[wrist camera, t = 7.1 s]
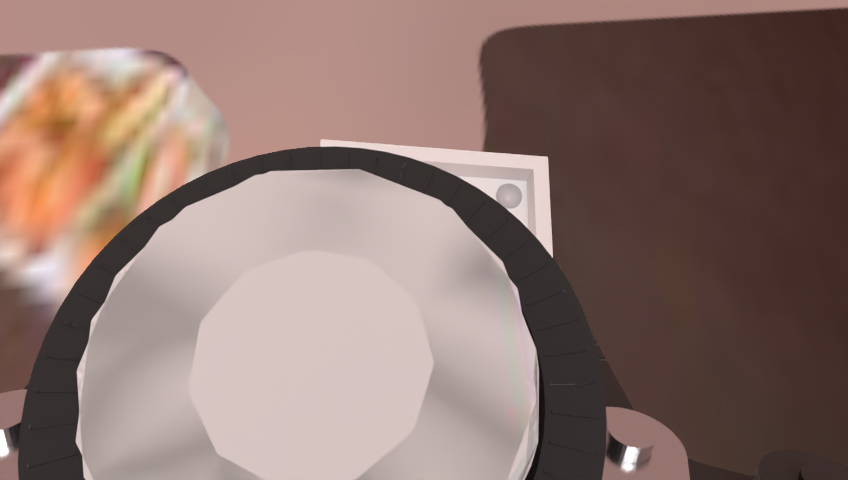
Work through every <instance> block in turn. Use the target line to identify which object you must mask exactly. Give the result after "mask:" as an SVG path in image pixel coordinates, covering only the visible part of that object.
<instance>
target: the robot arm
mask: <svg viewBox="0 0 848 480" xmlns="http://www.w3.org/2000/svg"><path fill="white" fill-rule="evenodd" d="M592 336H593V335H592ZM593 339H594V337H593ZM594 343H595V347H596V350H597V354H598V357H599V361H600V366H601V372H602V378H603V384H604V390H605V402H606V417H607V432H606V455H605V462H604V469H603V476H602V480H848V469H847V468H845V467H843V466H841V465H839V464H838V463H835V462H833V461H831V460H828V459H826V458H823V457H820V456H817V455H814V454H810V453H806V452H801V451H794V450H782V451H776V452H772V453H769V454H768V455H766V456H765V457H764V458H763V459H762V460H761V462H760V464H759V467H758V469H757V472H756V475H755V477H751V476H747V475H743V474H739V473H735V472H732V471H728V470H724V469H720V468H716V467H712V466H708V465H705V464H701V463H698V462H695V461H693V460H690V459H688V458H687V454H686V451H685V449H684V447H683V445H682V443H681V442H680V440H679V439H678V438H677V436H676V435H675V434H674V433H673V432H672V431H670V430H669V429H668V428H667V427H666V426H664V425H663V424H661V423H660V422H658V421H657V420H655V419H653V418H651V417H649V416H647V415H644V414H642V413H639V412H636V411H634V410H633V408H632V406H631V404H630V402H629V401H628V399H627V397H626V395H625V393H624V391H623V390H622V388H621V386H620V384H619V382H618V381H617V379H616V377H615V375H614V373H613V371H612V370H611V368H610V366H609V364H608V362H605V357H604V355H603V353H602V351H601V349H600V348H599V346H597V345H596V343H597V342H596V340H595V339H594ZM28 385H29V384H28ZM28 385H27V386H26V387H25V388H24V389H23V390H15V391H10V392H5V393H1V394H0V480H19V478H18V449H19V433H20V425H21V419H22V413H23V407H24V401H25V396H26V392H27V388H28Z"/></svg>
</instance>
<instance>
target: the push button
mask: <svg viewBox="0 0 848 480" xmlns="http://www.w3.org/2000/svg"><path fill="white" fill-rule="evenodd" d="M606 432H607V417H606V402H605V390H604V384H603V378H602V372H601V366H600V361H599V357H598V354H597V350H596V347H595V343H594V339H593V336H592V333H591V330H590V328H589V325H588V322H587V320H586V317H585V315H584V312H583V310H582V307H581V305H580V303H579V301H578V299H577V297H576V295H575V293H574V292H573V290H572V288H571V286H570V284H569V282H568V280H567V279H566V277H565V276H564V274H563V273H562V271H561V270H560V268H559V266H558V265H557V263H556V262H555V260H554V259H553V258H552V256H551V255H550V254H549V253H548V251H547V250H546V249H545V248H544V246H543V245H542V244H541V242H540V241H539V240H538V239H537V238H536V237H535V236H534V235H533V234H532V233H531V232H530V230H529V229H528V228H527V227H526V226H525V225H524V224H523V223H522V222H521V221H520V220H519V219H518V218H516V217H515V216H514V215H513V214H512V213H511V212H509V211H508V210H507V209H506V208H505V207H504V206H502V205H501V204H500V203H499V202H497V201H496V200H494V199H493V198H491V197H490V196H489V195H487V194H486V193H484V192H483V191H481V190H480V189H478V188H477V187H475V186H473V185H471V184H470V183H468V182H466V181H464V180H463V179H461V178H459V177H457V176H455V175H453V174H451V173H449V172H446V171H444V170H442V169H440V168H438V167H435V166H433V165H430V164H427V163H424V162H421V161H418V160H415V159H413V158H409V157H405V156H401V155H397V154H393V153H389V152H384V151H378V150H371V149H364V148H353V147H337V146H332V147H307V148H298V149H290V150H283V151H277V152H272V153H268V154H263V155H258V156H255V157H252V158H248V159H245V160H241V161H238V162H235V163H232V164H229V165H227V166H224V167H222V168H219V169H217V170H214V171H211V172H209V173H207V174H205V175H203V176H201V177H199V178H197V179H195V180H193V181H191V182H189V183H187V184H185V185H183V186H181V187H180V188H178V189H176V190H175V191H173V192H171V193H170V194H168V195H167V196H165V197H163V198H162V199H160V200H159V201H157V202H156V203H155V204H153V205H152V206H151V207H149V208H148V209H147V210H145V211H144V212H143V213H141V214H140V215H139V216H137V217H136V218H135V219H134V220H133V221H131V222H130V223H129V224H128V225H127V226H126V227H125V228H124V229H123V230H121V231H120V232H119V233H118V234H117V235H116V236H115V237H114V238H113V239H112V240H111V241H110V242H109V243H108V244H107V245H106V246H105V247H104V249H103V250H102V251H101V252H100V253H99V254H98V255H97V256H96V257H95V258H94V259H93V261H92V262H91V263H90V265H89V266H88V267H87V269H86V270H85V271H84V272H83V274H82V275H81V276H80V278H79V279H78V280H77V281H76V283H75V284H74V286H73V288H72V289H71V291H70V292H69V294H68V296H67V297H66V299H65V300H64V302H63V303H62V305H61V307H60V308H59V310H58V312H57V314H56V316H55V318H54V320H53V322H52V324H51V326H50V328H49V330H48V332H47V334H46V336H45V338H44V341H43V343H42V346H41V349H40V351H39V354H38V356H37V359H36V361H35V364H34V367H33V370H32V374H31V378H30V381H29V385H28V388H27V392H26V396H25V401H24V407H23V413H22V419H21V425H20V433H19V449H18V478H19V480H602V476H603V469H604V462H605V455H606Z"/></svg>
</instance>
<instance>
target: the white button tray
mask: <svg viewBox="0 0 848 480" xmlns="http://www.w3.org/2000/svg"><path fill="white" fill-rule="evenodd" d="M332 146H337V147H353V148H364V149H371V150H378V151H384V152H389V153H393V154H397V155H401V156H405V157H409V158H413V159H415V160H418V161H421V162H424V163H427V164H430V165H433V166H435V167H438V168H440V169H442V170H444V171H446V172H449V173H451V174H453V175H455V176H457V177H459V178H461V179H463V180H464V181H466V182H468V183H470V184H471V185H473V186H475V187H477V188H478V189H480V190H481V191H483V192H484V193H486V194H487V195H489V196H490V197H491V198H493V199H494V200H496V201H497V202H499V203H500V204H501V205H502V206H504V207H505V208H506V209H507V210H508V211H509V212H511V213H512V214H513V215H514V216H515V217H516V218H518V219H519V220H520V221H521V222H522V223H523V224H524V225H525V226H526V227H527V228H528V229H529V230H530V232H531V233H532V234H533V235H534V236H535V237H536V238H537V239H538V240H539V241H540V242H541V244H542V245H543V246H544V248H545V249H546V250H547V251H548V253H549V254H550V255H551V256H552V258H553V250H552V230H551V210H550V190H549V170H548V157H542V156H529V155H517V154H504V153H491V152H477V151H465V150H452V149H438V148H426V147H413V146H400V145H387V144H375V143H361V142H349V141H336V140H323V139H322V140H321V144H320V147H332Z"/></svg>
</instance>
